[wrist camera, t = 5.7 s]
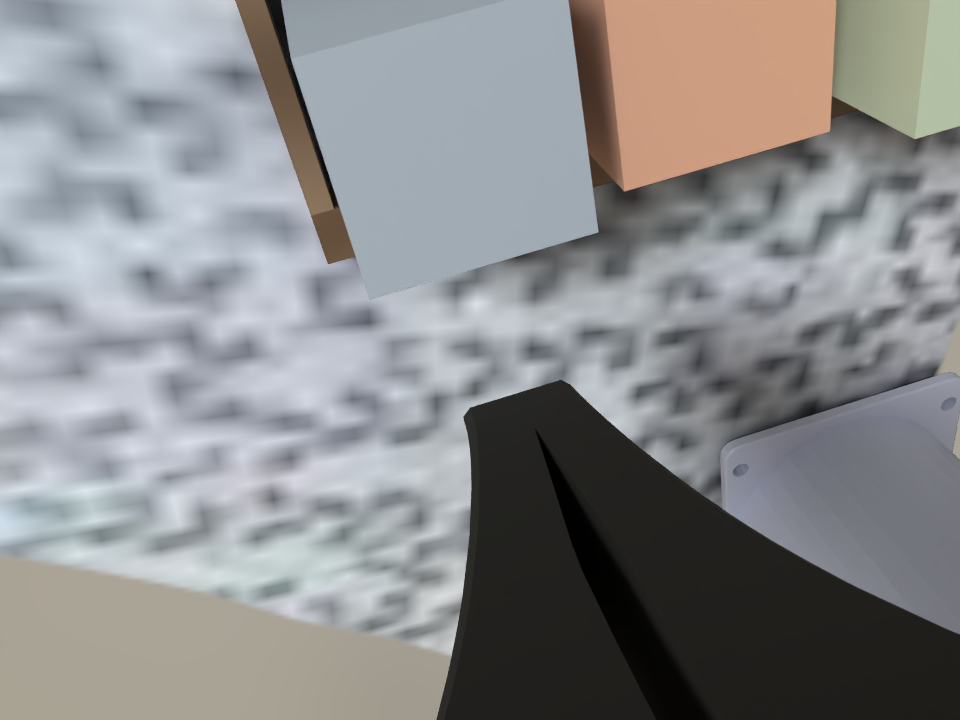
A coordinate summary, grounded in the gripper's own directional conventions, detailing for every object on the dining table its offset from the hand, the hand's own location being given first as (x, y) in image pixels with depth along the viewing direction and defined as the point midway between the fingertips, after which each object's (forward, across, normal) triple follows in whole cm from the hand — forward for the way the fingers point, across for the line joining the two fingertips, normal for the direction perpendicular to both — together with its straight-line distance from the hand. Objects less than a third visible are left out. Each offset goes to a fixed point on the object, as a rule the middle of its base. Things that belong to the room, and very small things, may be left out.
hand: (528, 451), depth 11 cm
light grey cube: (+9, 0, -2) cm, 9 cm away
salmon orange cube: (+10, -5, -2) cm, 11 cm away
